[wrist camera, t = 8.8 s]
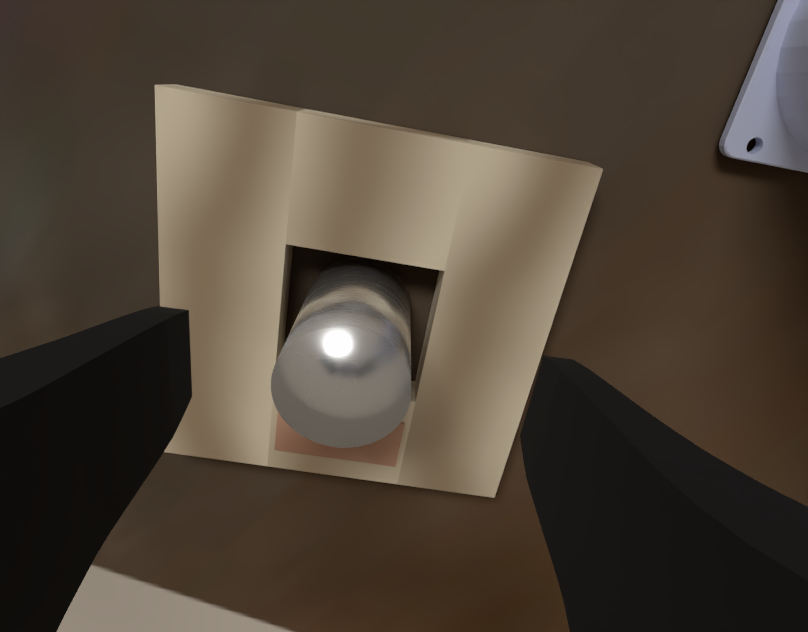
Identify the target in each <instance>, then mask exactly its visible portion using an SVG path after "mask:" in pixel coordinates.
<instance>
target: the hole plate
mask: <svg viewBox="0 0 808 632" xmlns="http://www.w3.org/2000/svg"><path fill="white" fill-rule="evenodd" d="M155 115H156V157H157V198H158V240H159V281H160V306H161V307H168V308H176V309H184V310H189V327H190V352H191V378H192V398H191V400H190V402H189V405H188V407H187V409H186V411H185V414H184V416H183V418H182V420H181V422H180V424H179V426H178V428H177V430H176V432H175V434H174V436H173V438H172V440H171V441H170V443H169V444H168V446H167V448H166V449H165V451H164V452H168V453H175V454H183V455H190V456H197V457H204V458H211V459H219V460H226V461H233V462H240V463H247V464H255V465H262V466H269V467H276V468H283V469H290V470H298V471H305V472H312V473H319V474H326V475H334V476H341V477H348V478H355V479H362V480H370V481H377V482H384V483H391V484H398V485H405V486H413V487H420V488H427V489H434V490H441V491H449V492H456V493H463V494H470V495H477V496H485V497H492V498H495V495H496V492H497V489H498V486H499V483H500V480H501V477H502V474H503V470H504V467H505V464H506V461H507V458H508V455H509V452H510V449H511V446H512V443H513V440H514V437H515V434H516V431H517V428H518V425H519V422H520V419H521V416H522V413H523V410H524V407H525V404H526V401H527V398H528V395H529V392H530V389H531V386H532V383H533V380H534V377H535V374H536V371H537V368H538V365H539V362H540V359H541V356H542V353H543V350H544V347H545V344H546V341H547V338H548V335H549V331H550V328H551V325H552V322H553V319H554V316H555V313H556V310H557V307H558V304H559V301H560V298H561V295H562V292H563V289H564V286H565V283H566V280H567V277H568V274H569V271H570V268H571V265H572V262H573V259H574V256H575V253H576V250H577V247H578V244H579V241H580V238H581V235H582V232H583V229H584V226H585V223H586V220H587V217H588V214H589V211H590V208H591V205H592V202H593V199H594V195H595V192H596V189H597V186H598V183H599V180H600V177H601V174H602V171H603V169H602V168H600V167H598V166H596V165H594V164H591V163H589V162H586V161H580V160H575V159H570V158H564V157H559V156H554V155H548V154H543V153H538V152H533V151H527V150H522V149H517V148H511V147H506V146H501V145H495V144H490V143H485V142H479V141H474V140H469V139H463V138H458V137H453V136H448V135H442V134H437V133H432V132H426V131H421V130H416V129H410V128H405V127H400V126H394V125H389V124H384V123H378V122H373V121H368V120H362V119H357V118H352V117H347V116H341V115H336V114H331V113H325V112H320V111H315V110H309V109H304V108H299V107H293V106H288V105H283V104H277V103H272V102H267V101H262V100H256V99H251V98H246V97H240V96H235V95H230V94H224V93H219V92H214V91H208V90H203V89H198V88H192V87H187V86H182V85H176V84H168V85H155ZM293 245H294V246H299V247H305V248H311V249H317V250H323V251H329V252H335V253H341V254H347V255H353V256H358V257H364V258H370V259H376V260H382V261H388V262H394V263H400V264H406V265H412V266H418V267H423V268H429V269H435V270H439V273H438V278H437V282H436V287H435V291H434V296H433V301H432V305H431V310H430V314H429V319H428V324H427V328H426V333H425V337H424V342H423V347H422V351H421V356H420V360H419V365H418V369H417V374H416V379H415V381H411V401H410V405H409V408H408V411H407V413H406V415H405V417H404V418H403V420H402V421H401V423H400V424H399V425H398V426H397V427H396V428H395V429H394V430H393V431H392V432H391V433H390V434H388V435H387V436H385V437H384V438H382V439H380V440H378V441H376V442H373V443H370V444H367V445H363V446H359V447H351V448H340V447H331V446H326V445H322V444H319V443H316V442H313V441H311V440H309V439H307V438H305V437H303V436H301V435H300V434H299V433H297V432H296V431H294V430H293V429H292V428H291V427H290V426H289V425H288V424H287V423H286V422H285V421H284V420H283V418H282V417H281V415H280V414H279V413H278V411H277V409H276V407H275V404H274V401H273V398H272V393H271V377H272V372H273V369H274V366H275V364H276V362H277V359H278V357H279V355H280V353H281V351H282V348H283V346H284V342H285V331H286V320H287V309H288V298H289V287H290V276H291V265H292V253H293Z"/></svg>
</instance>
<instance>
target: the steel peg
mask: <svg viewBox="0 0 808 632" xmlns="http://www.w3.org/2000/svg"><path fill="white" fill-rule="evenodd" d="M271 393H272V398H273V401H274V404H275V407H276V409H277V411H278V413H279V414H280V415H281V417H282V418H283V420H284V421H285V422H286V423H287V424H288V425H289V426H290V427H291V428H292V429H293V430H294V431H296V432H297V433H299V434H300V435H301V436H303V437H305V438H307V439H309V440H311V441H313V442H316V443H319V444H322V445H326V446H331V447H340V448H351V447H359V446H363V445H367V444H370V443H373V442H376V441H378V440H380V439H382V438H384V437H385V436H387V435H388V434H390V433H391V432H392V431H393V430H394V429H395V428H396V427H397V426H398V425H399V424H400V423H401V421H402V420H403V418H404V417H405V415H406V413H407V411H408V408H409V405H410V401H411V323H410V299H409V294H408V291H407V289H406V287H405V285H404V283H403V281H402V280H401V278H400V277H399V276H398V275H397V274H396V273H395V272H394V271H393V270H392V269H390V268H389V267H387V266H386V265H384V264H382V263H380V262H378V261H375V260H372V259H367V258H347V259H343V260H339V261H337V262H334V263H332V264H330V265H329V266H327V267H326V268H325V269H323V270H322V271H321V272H320V273H319V274H318V275H317V277H316V278H315V280H314V281H313V283H312V285H311V287H310V289H309V292H308V294H307V296H306V298H305V300H304V303H303V305H302V307H301V309H300V311H299V313H298V316H297V318H296V320H295V322H294V324H293V327H292V329H291V331H290V333H289V335H288V338H287V340H286V342H285V344H284V346H283V348H282V351H281V353H280V355H279V357H278V359H277V362H276V364H275V366H274V369H273V372H272V377H271Z"/></svg>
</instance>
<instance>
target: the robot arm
mask: <svg viewBox="0 0 808 632" xmlns="http://www.w3.org/2000/svg"><path fill="white" fill-rule="evenodd" d="M753 138H755V140H756V144H755V147H754V148H753V149H752V150H751V151H749V152H747V149H746V148H747V144H748V142H749V141H750V140H751V139H753ZM719 148H720V151H721V153H722V154H723V155H724V156H727V157H730V158H734V159H739V160H744V161H749V162H755V163H760V164H765V165H770V166H775V167H781V168H786V169H791V170H796V171H801V172H807V173H808V0H778V1H777V3H776V6H775V8H774V11H773V13H772V15H771V18H770V20H769V23H768V25H767V28H766V30H765V32H764V35H763V37H762V40H761V42H760V44H759V47H758V49H757V52H756V54H755V57H754V59H753V61H752V64H751V66H750V69H749V71H748V73H747V76H746V78H745V81H744V83H743V85H742V88H741V90H740V93H739V95H738V98H737V100H736V102H735V105H734V107H733V110H732V112H731V114H730V117H729V119H728V122H727V124H726V127H725V129H724V131H723V134H722V136H721V139H720V143H719ZM191 398H192V378H191V352H190V327H189V310H184V309H176V308H168V307H161V306H156V307H151V308H147V309H144V310H140V311H137V312H134V313H131V314H128V315H125V316H122V317H119V318H117V319H114V320H111V321H108V322H106V323H103V324H100V325H97V326H94V327H92V328H89V329H86V330H83V331H81V332H78V333H75V334H72V335H69V336H67V337H64V338H61V339H58V340H55V341H52V342H49V343H46V344H43V345H40V346H37V347H34V348H30V349H27V350H24V351H21V352H18V353H15V354H12V355H9V356H6V357H3V358H0V632H56V631H57V629H58V627H59V625H60V623H61V621H62V619H63V617H64V615H65V613H66V611H67V609H68V607H69V605H70V603H71V602H72V600H73V598H74V596H75V594H76V592H77V590H78V588H79V586H80V585H81V583H82V581H83V579H84V577H85V575H86V573H87V571H88V569H89V567H90V566H91V564H92V562H93V560H94V558H95V556H96V555H97V553H98V551H99V550H100V548H101V546H102V545H103V543H104V541H105V540H106V538H107V536H108V535H109V533H110V532H111V530H112V529H113V527H114V526H115V524H116V523H117V521H118V520H119V518H120V517H121V515H122V514H123V512H124V511H125V509H126V508H127V506H128V505H129V503H130V502H131V500H132V499H133V497H134V496H135V494H136V493H137V491H138V490H139V488H140V487H141V485H142V484H143V482H144V481H145V479H146V478H147V476H148V475H149V473H150V472H151V470H152V469H153V467H154V466H155V464H156V463H157V461H158V460H159V458H160V457H161V455H162V454H163V452H164V451H165V449H166V448H167V446H168V444H169V443H170V441H171V440H172V438H173V436H174V434H175V432H176V430H177V428H178V426H179V424H180V422H181V420H182V418H183V416H184V414H185V411H186V409H187V407H188V405H189V402H190V400H191ZM520 438H521V445H522V452H523V460H524V465H525V471H526V477H527V481H528V484H529V488H530V491H531V495H532V498H533V501H534V504H535V508H536V511H537V514H538V518H539V521H540V524H541V527H542V530H543V534H544V537H545V540H546V543H547V546H548V550H549V553H550V556H551V559H552V562H553V566H554V569H555V572H556V575H557V578H558V582H559V586H560V589H561V593H562V597H563V601H564V605H565V609H566V614H567V619H568V624H569V629H570V632H808V507H807V506H805V505H803V504H801V503H799V502H797V501H795V500H793V499H791V498H789V497H787V496H785V495H783V494H781V493H779V492H777V491H775V490H773V489H771V488H769V487H767V486H765V485H764V484H762V483H760V482H758V481H756V480H754V479H753V478H751V477H749V476H747V475H746V474H744V473H742V472H740V471H739V470H737V469H735V468H733V467H732V466H730V465H728V464H726V463H725V462H723V461H721V460H719V459H718V458H716V457H714V456H713V455H711V454H709V453H708V452H706V451H705V450H703V449H701V448H700V447H698V446H697V445H695V444H694V443H692V442H691V441H689V440H688V439H686V438H685V437H683V436H682V435H680V434H678V433H677V432H675V431H674V430H672V429H671V428H669V427H668V426H667V425H665V424H664V423H662V422H661V421H659V420H658V419H657V418H655V417H654V416H652V415H651V414H649V413H648V412H647V411H645V410H644V409H642V408H641V407H640V406H638V405H637V404H636V403H634V402H633V401H632V400H630V399H629V398H627V397H626V396H625V395H623V394H622V393H621V392H619V391H618V390H617V389H615V388H614V387H613V386H611V385H610V384H609V383H607V382H606V381H605V380H603V379H602V378H600V377H599V376H598V375H596V374H595V373H593V372H592V371H591V370H589V369H588V368H586V367H585V366H583V365H581V364H580V363H578V362H576V361H574V360H572V359H565V358H557V357H549V356H543V359H542V363H541V366H540V370H539V373H538V377H537V380H536V383H535V387H534V390H533V394H532V397H531V401H530V404H529V407H528V411H527V414H526V418H525V421H524V424H523V428H522V431H521V435H520Z"/></svg>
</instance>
